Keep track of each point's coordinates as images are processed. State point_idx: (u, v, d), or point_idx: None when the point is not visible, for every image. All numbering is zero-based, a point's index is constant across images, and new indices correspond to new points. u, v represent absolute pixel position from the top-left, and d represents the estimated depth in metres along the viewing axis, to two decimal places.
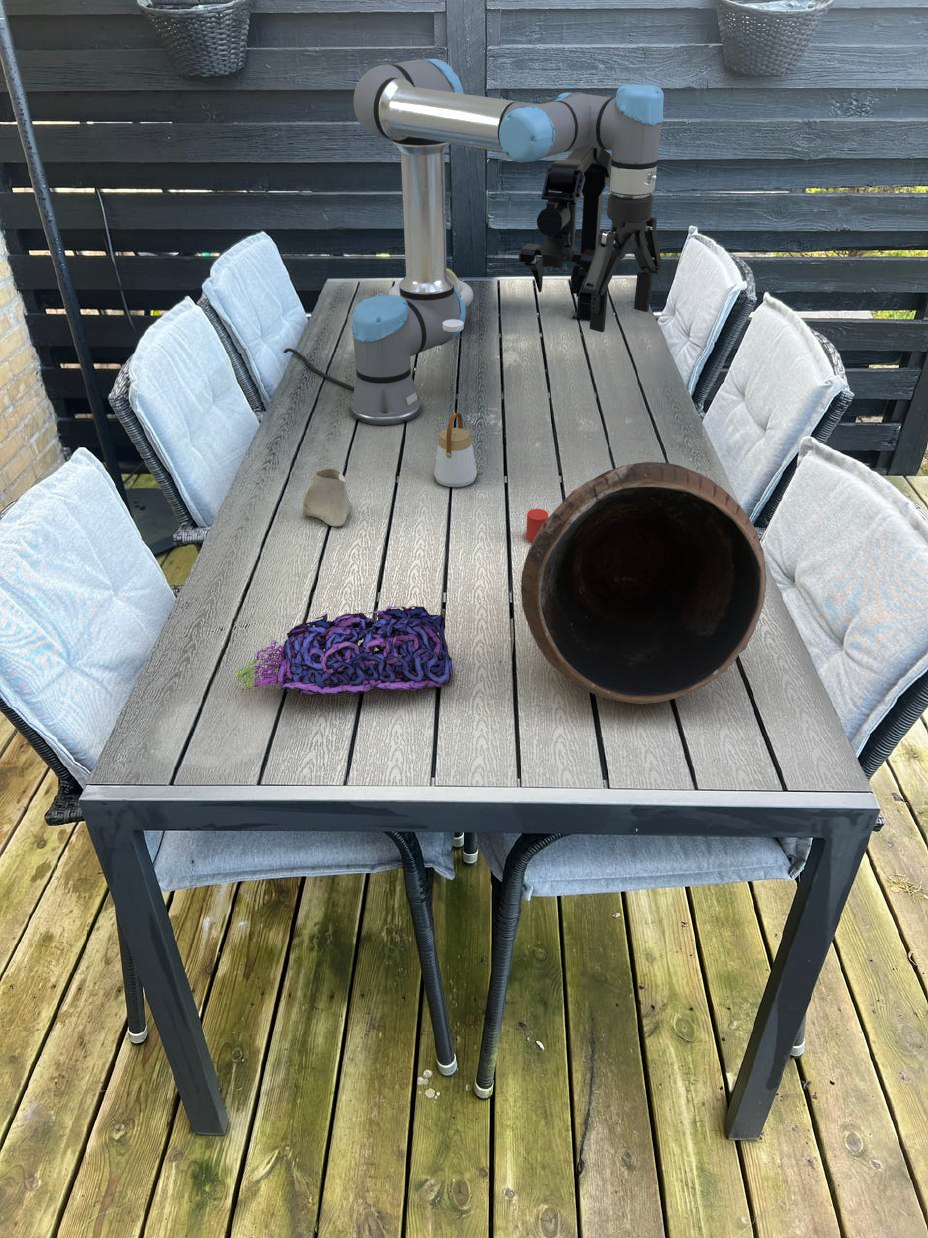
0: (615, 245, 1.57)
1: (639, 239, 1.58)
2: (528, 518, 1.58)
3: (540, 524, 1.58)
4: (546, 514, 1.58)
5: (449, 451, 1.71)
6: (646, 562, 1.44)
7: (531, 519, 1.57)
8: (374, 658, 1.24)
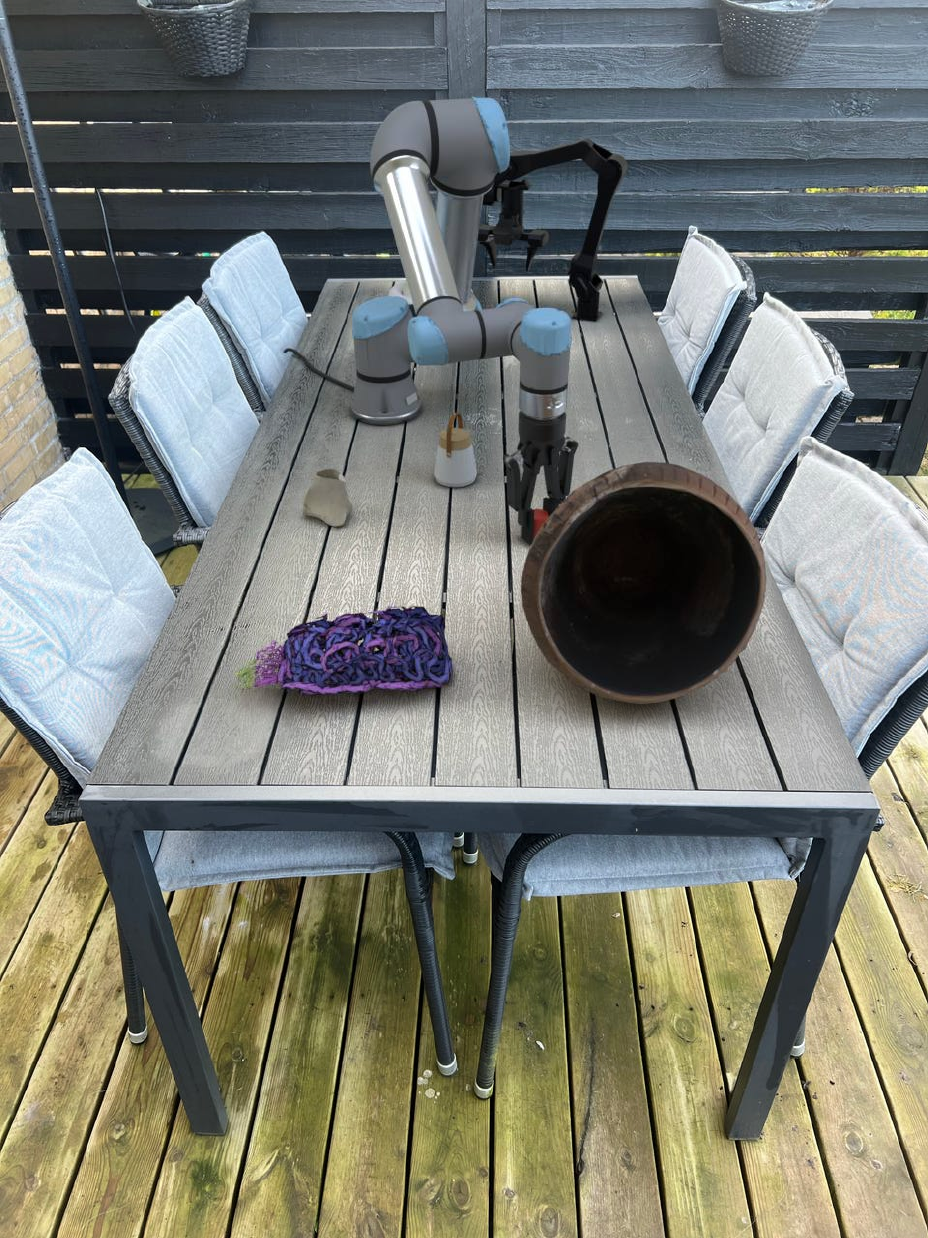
0: (524, 459, 1.51)
1: None
2: None
3: (540, 524, 1.58)
4: (546, 514, 1.58)
5: (449, 451, 1.71)
6: (646, 562, 1.44)
7: None
8: (374, 658, 1.24)
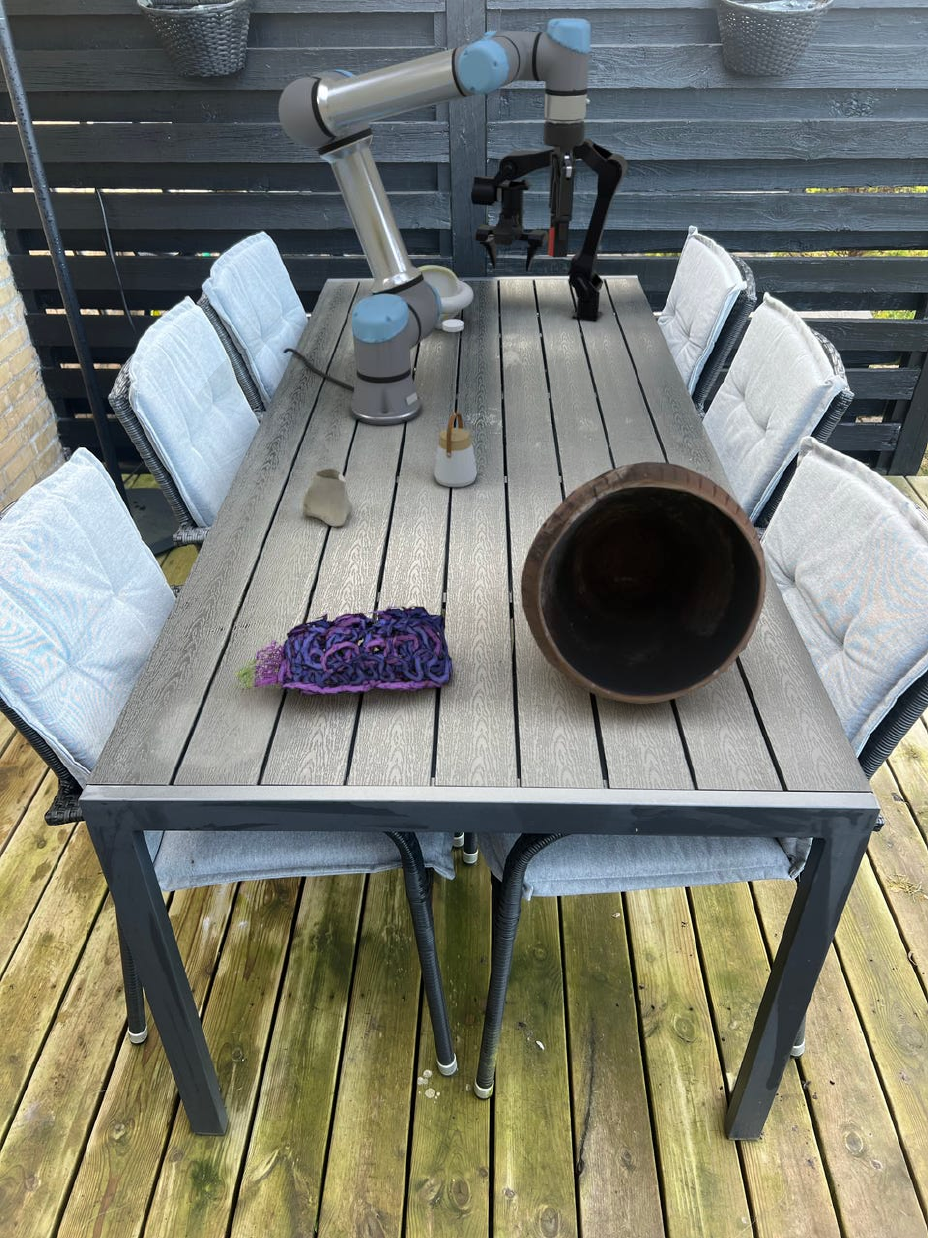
0: None
1: None
2: None
3: None
4: None
5: (449, 451, 1.71)
6: (646, 562, 1.44)
7: None
8: (374, 658, 1.24)
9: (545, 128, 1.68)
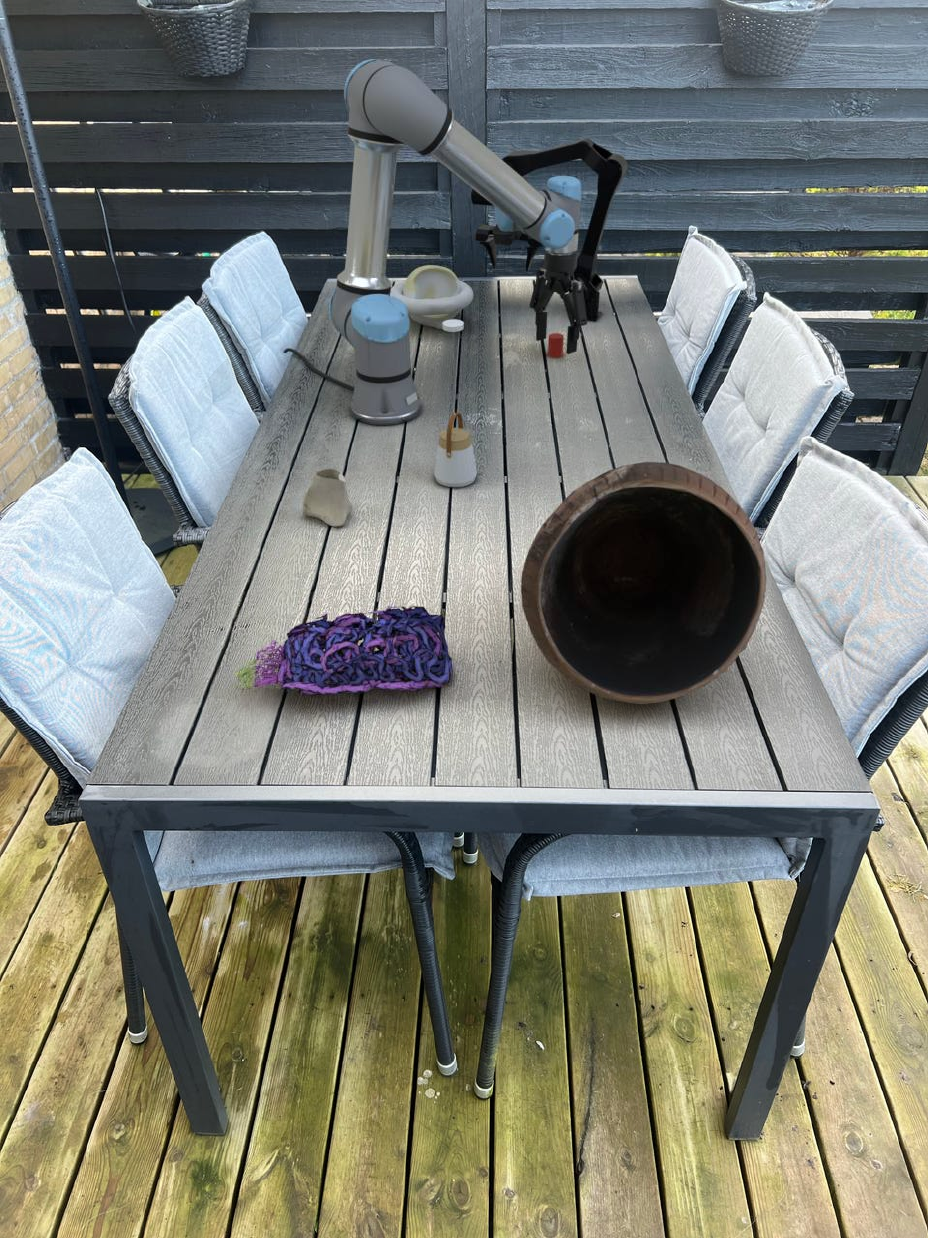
0: (567, 289, 2.15)
1: None
2: (560, 339, 2.23)
3: None
4: (555, 333, 2.25)
5: (449, 451, 1.71)
6: (646, 562, 1.44)
7: (563, 337, 2.23)
8: (374, 658, 1.24)
9: (551, 260, 2.11)
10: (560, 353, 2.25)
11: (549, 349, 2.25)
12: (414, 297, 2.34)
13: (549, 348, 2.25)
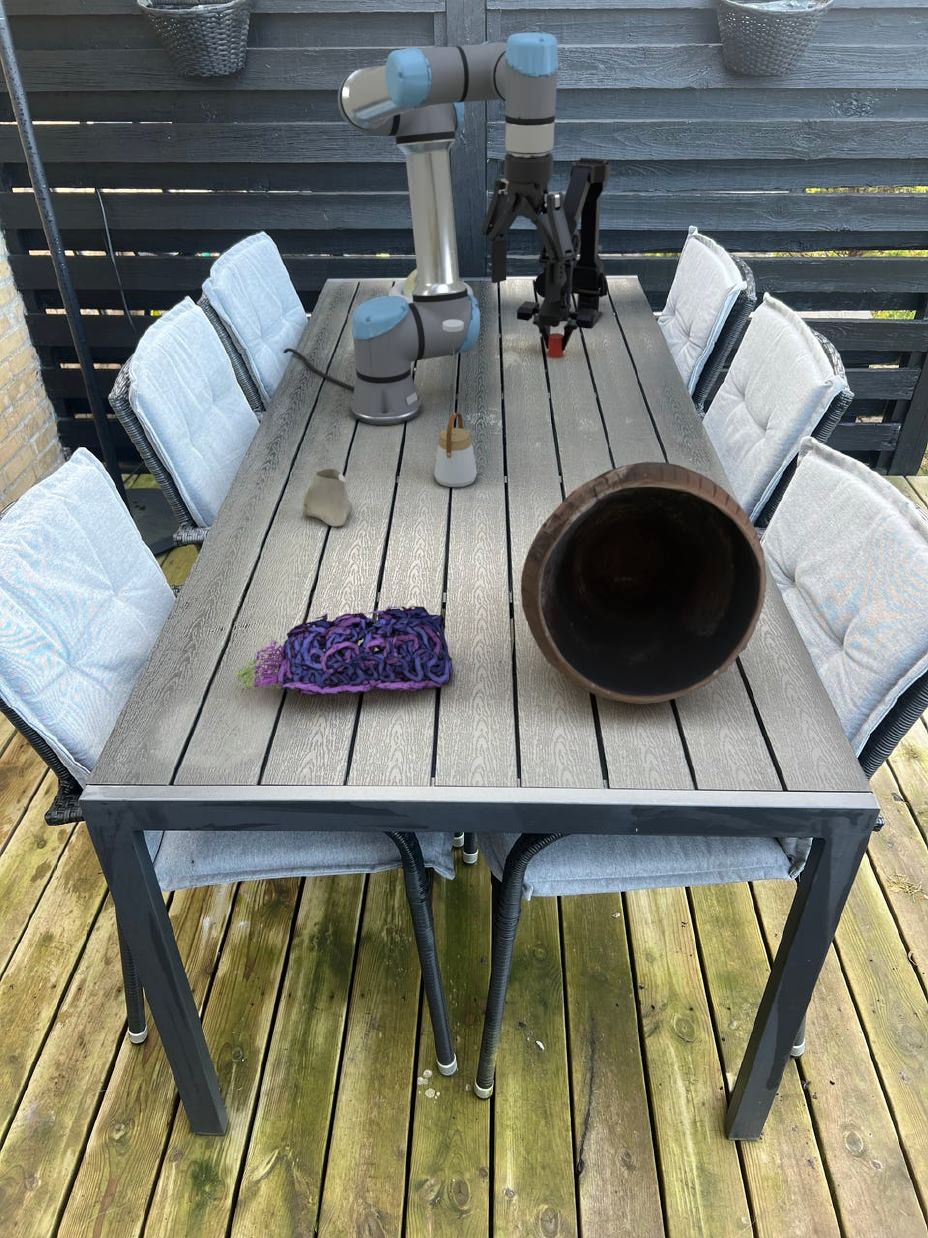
0: (538, 209, 1.46)
1: None
2: (560, 339, 2.23)
3: None
4: (555, 333, 2.25)
5: (449, 451, 1.71)
6: (646, 562, 1.44)
7: None
8: (374, 658, 1.24)
9: (514, 164, 1.41)
10: (560, 353, 2.25)
11: (549, 349, 2.25)
12: None
13: (549, 348, 2.25)
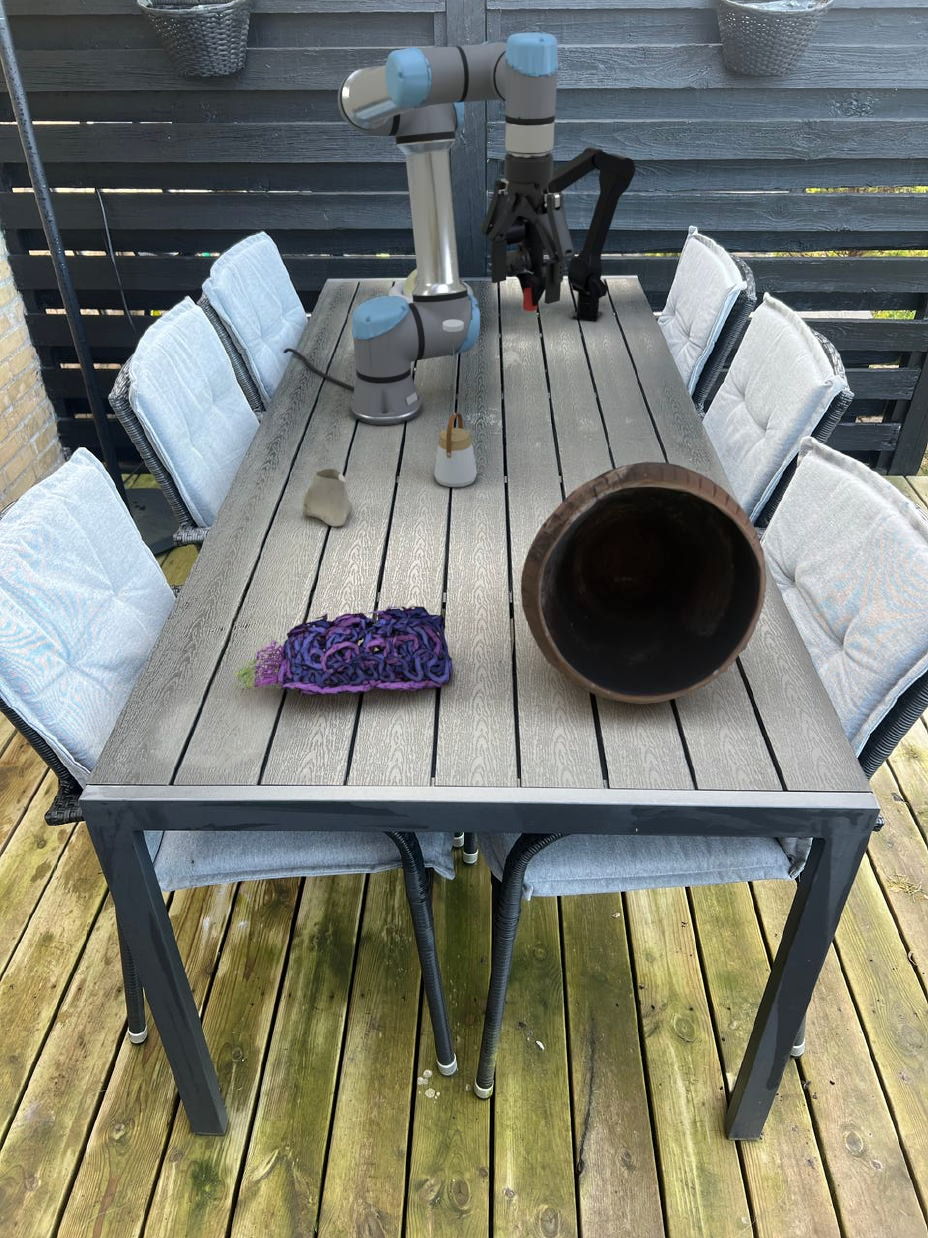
0: (538, 209, 1.46)
1: None
2: (530, 293, 2.33)
3: None
4: None
5: (449, 451, 1.71)
6: (646, 562, 1.44)
7: None
8: (374, 658, 1.24)
9: (514, 164, 1.41)
10: (530, 307, 2.35)
11: None
12: None
13: None
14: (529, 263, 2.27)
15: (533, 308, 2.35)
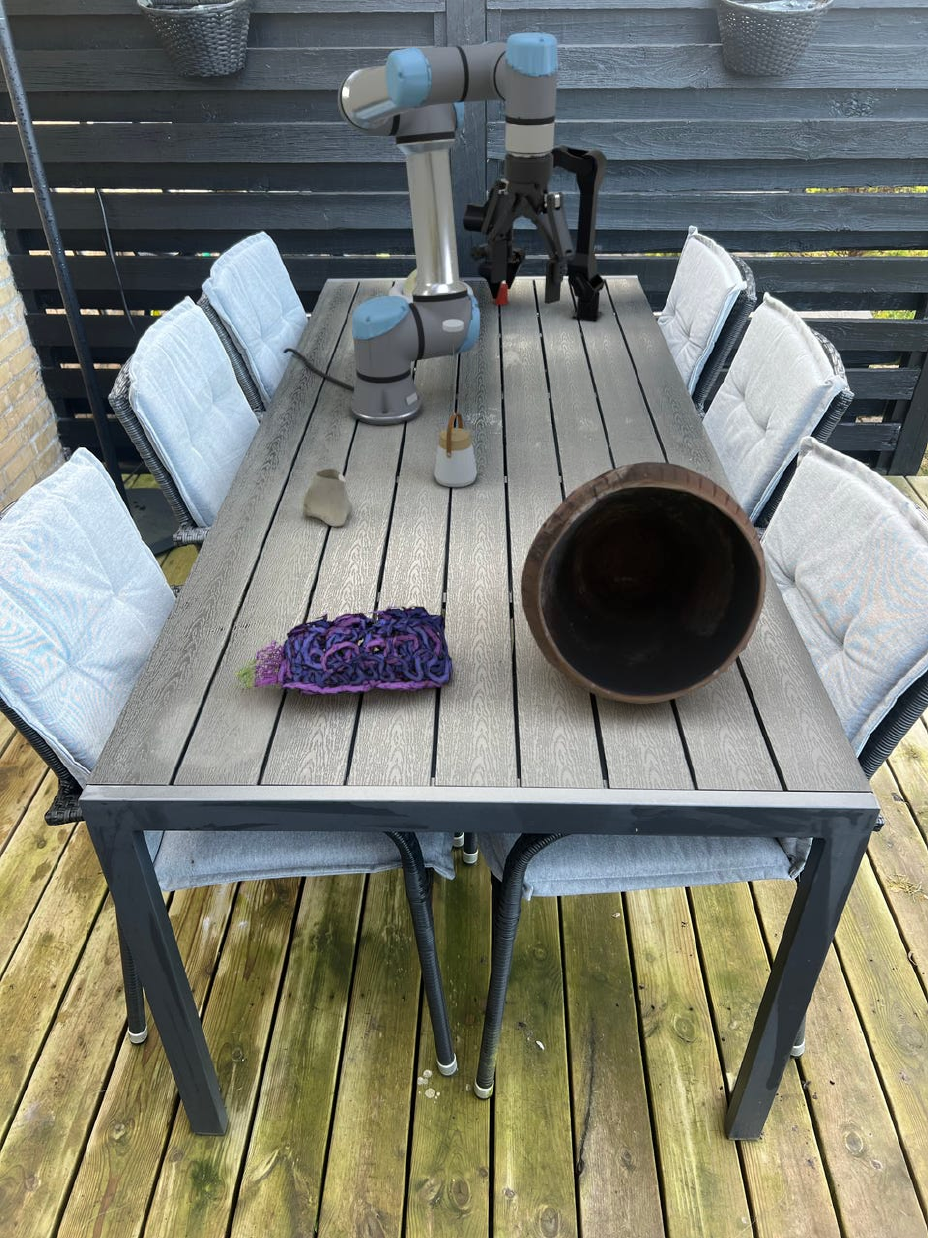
0: (538, 209, 1.46)
1: None
2: None
3: (503, 291, 2.53)
4: (506, 285, 2.54)
5: (449, 451, 1.71)
6: (646, 562, 1.44)
7: None
8: (374, 658, 1.24)
9: (514, 164, 1.41)
10: (495, 300, 2.56)
11: None
12: None
13: None
14: (489, 254, 2.48)
15: (497, 302, 2.56)
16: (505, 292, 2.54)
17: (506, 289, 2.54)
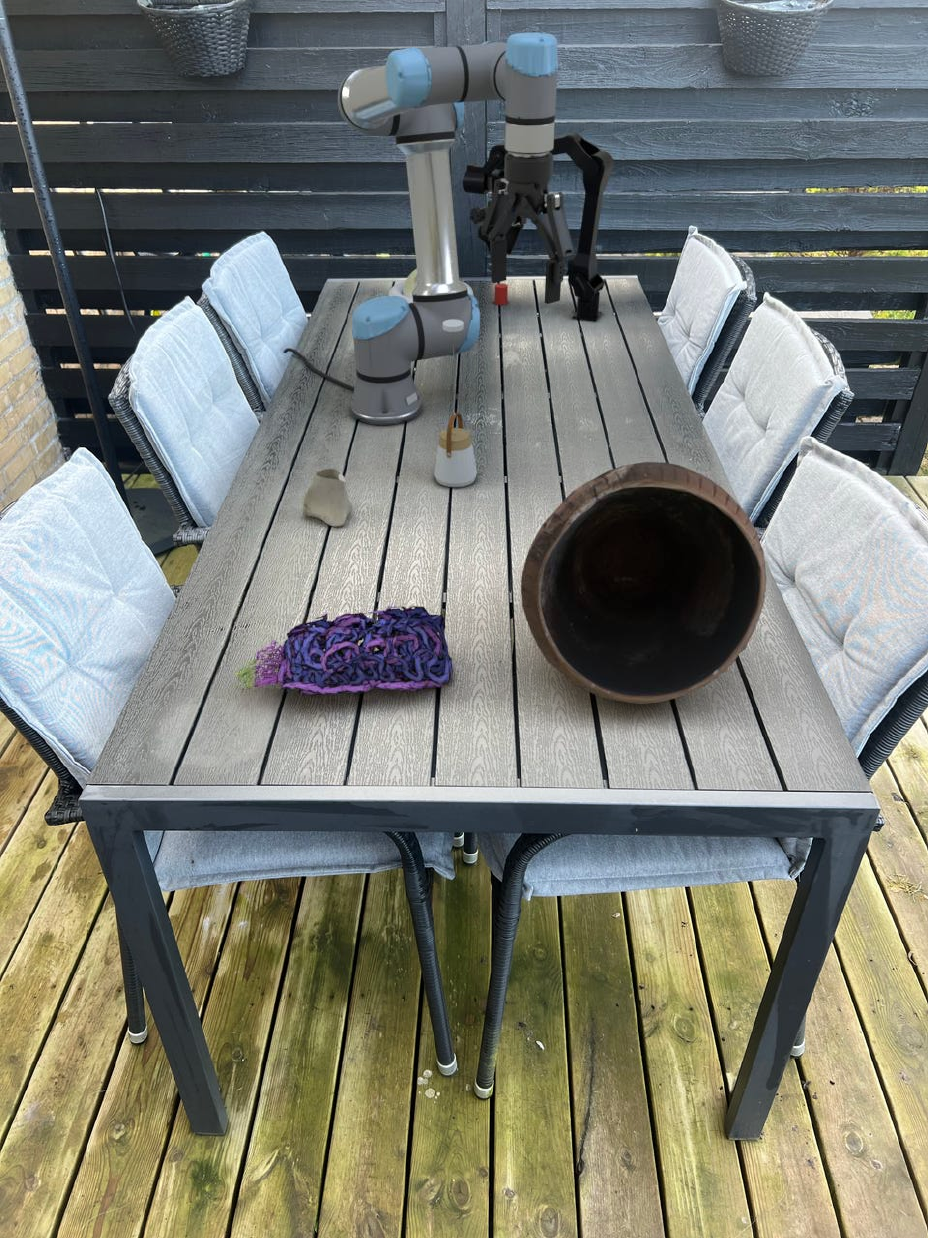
0: (538, 209, 1.46)
1: None
2: (495, 287, 2.54)
3: (503, 291, 2.53)
4: (506, 285, 2.54)
5: (449, 451, 1.71)
6: (646, 562, 1.44)
7: (497, 287, 2.53)
8: (374, 658, 1.24)
9: (514, 164, 1.41)
10: (495, 300, 2.56)
11: None
12: None
13: None
14: None
15: (497, 302, 2.56)
16: (505, 292, 2.54)
17: (506, 289, 2.54)
